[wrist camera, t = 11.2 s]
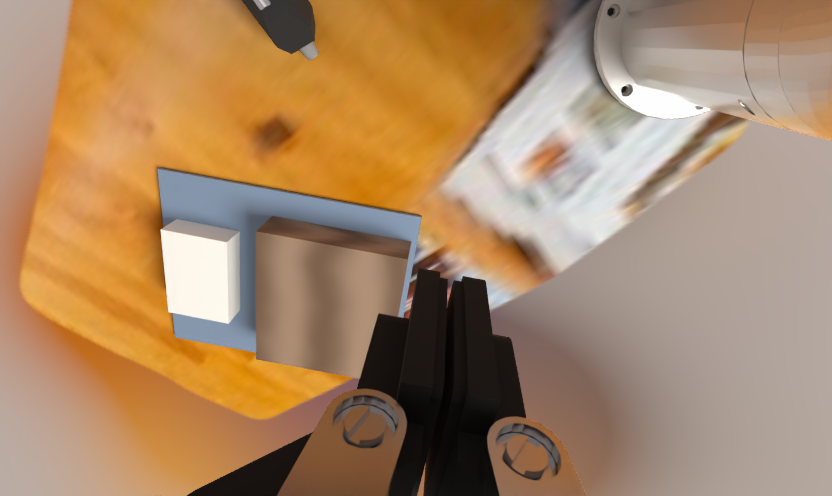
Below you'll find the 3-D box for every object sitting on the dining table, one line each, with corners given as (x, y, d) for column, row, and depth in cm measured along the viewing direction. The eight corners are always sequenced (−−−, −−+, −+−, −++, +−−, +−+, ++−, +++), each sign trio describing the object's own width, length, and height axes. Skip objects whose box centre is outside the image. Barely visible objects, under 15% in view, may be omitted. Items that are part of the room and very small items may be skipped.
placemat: (421, 216, 39) (421, 217, 38) (392, 375, 47) (392, 377, 47) (160, 167, 39) (157, 168, 38) (177, 335, 47) (175, 337, 47)
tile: (160, 229, 38) (176, 218, 40) (168, 312, 42) (182, 298, 44) (226, 242, 38) (239, 231, 40) (228, 323, 42) (240, 309, 44)
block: (411, 241, 39) (407, 259, 36) (390, 359, 46) (385, 383, 42) (272, 215, 39) (256, 231, 36) (270, 336, 46) (256, 359, 42)
